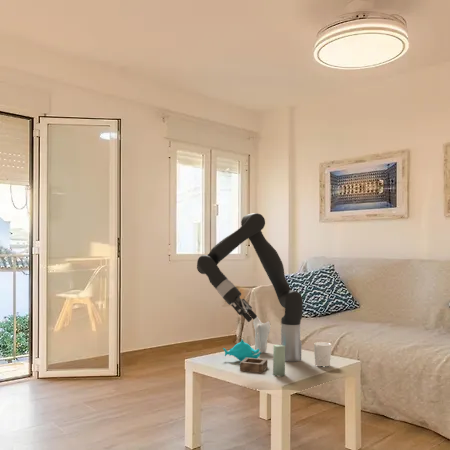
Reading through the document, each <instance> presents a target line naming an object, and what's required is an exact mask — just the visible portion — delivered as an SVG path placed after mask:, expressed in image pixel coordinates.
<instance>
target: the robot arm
mask: <svg viewBox="0 0 450 450" xmlns="http://www.w3.org/2000/svg"><path fill="white" fill-rule="evenodd" d="M240 224H241V226H240V227H239V228H238V229H236V230H235V231H234V232H232V233H231V234H229V235H228V236H226V237H224V238H223V239H222V240H220V241H219V242H217V244H216V245H214V246H213V247H212V248H211V250H210V251H209V253H207V255H206V254H202V255H200V256H199V257H198V258H197V262H196V269H197V271H198V273H199V274H202V275H205V276H207V278H208V281H209V283H210V284H211V285H212V286H213V288H214V289H215V290H216V291H217V292H218V294H219V295H220V296H221V298H222V299H223V300H224V302H226V303H227V305H230V306H231V307H232V308H233V309H234V311H235V312H236V313H237V314H238V315H239V316H242V317H243V318H244V320H246V321H247V322H248V323H250V322H251V321H252V320H254V319H255V318H256V317H258V315H257V314H256V313H255V311H253V307H252V306H251V304H250V303H248V301H247V300H246V299H245V298H241V297H242V292H241V291H240V290H239V289H238V288H237V287H236V285H235V284H234V283H233V282H232V281H231V280H229V278H228V277H227V276H226V275H225V274H224V273H223V272H222V270H221V269H220V268H219V266H218V264H219V263H220V262H221V261H222V260H223V259H225V258H226V257H227V256H228V255H230V254H231V253H232V252H233V251H234V250H236V249H237V247H239V246H240V245H241V244H243V243H244V242H245V241H246V240H248V239H249V241H250V243H251V245H252V247H253V248H254V251H255V253H256V255H257V257H258V259H259V260H260V264H261V265H262V268H263V270H264V271H265V273H266V275H267V277H268V278H269V281H270V283H271V284H272V287H273V289H274V291H275V294H276V297H277V300H278V302H279V304H280V306H281V307H282V308H284V315H283V316H282V317H281V320H280V321H281V322H280V323H281V324H280V325H281V327H280V332H281V333H280V335H281V337H280V345H284V346H285V362H301V361H302V345H303V344H302V342H303V341H302V340H301V320H302V318H303V307H304V306H303V305H304V302H303V296H302V295H301V293H300V292H298V291H296V290H292V289H291V287H290V286H289V283H288V282H287V279H286V276H285V268H284V264H283V261H282V260H281V257H280V255H279V253H278V251H277V250H276V249H275V248H274V247H273V246H272V245H271V243H270V242H269V241H268V240H267V239H266V238H265V236H264V234H263V232H262V230H263V229H264V227H265V225H266V219H265V217H264V216H263V215H262V214H260V213H258V212H254V213H249V214H245V215H244V216H243V217H242V218H241V221H240Z"/></svg>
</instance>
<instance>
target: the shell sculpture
mask: <svg viewBox="0 0 450 450" xmlns="http://www.w3.org/2000/svg"><path fill="white" fill-rule="evenodd" d="M252 324H253V328H254V332H255V333H254V350H257V349H259V350H260V352H261V353H260V354H264V353H266V352H267V347H268V337H269V335H270V332H271V322H270V320H267V321H266V322H262V321H261V320H260V318H259V316H257V317H256V318H255V319H253V321H252Z"/></svg>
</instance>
